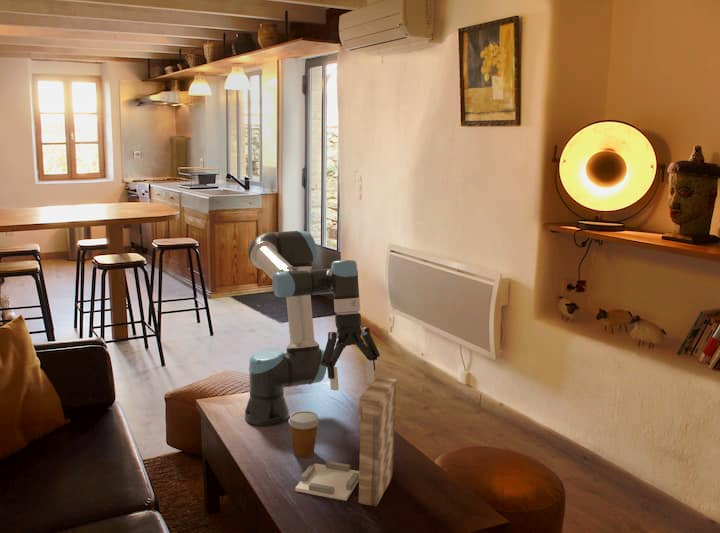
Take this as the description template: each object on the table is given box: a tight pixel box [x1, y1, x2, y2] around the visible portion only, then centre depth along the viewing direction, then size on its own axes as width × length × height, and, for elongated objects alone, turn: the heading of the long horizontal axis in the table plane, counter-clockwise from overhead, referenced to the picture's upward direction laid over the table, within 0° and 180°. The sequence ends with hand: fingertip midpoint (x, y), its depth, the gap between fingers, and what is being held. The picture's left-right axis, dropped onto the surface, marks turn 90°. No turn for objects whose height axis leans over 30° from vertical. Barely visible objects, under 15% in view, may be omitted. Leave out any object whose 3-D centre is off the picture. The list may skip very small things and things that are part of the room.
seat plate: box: [294, 460, 359, 501], centre depth 195 cm, size 15×15×2 cm
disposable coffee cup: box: [287, 410, 320, 458], centre depth 212 cm, size 10×10×12 cm
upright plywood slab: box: [358, 376, 397, 507], centre depth 190 cm, size 17×6×30 cm, turn 162°
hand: (353, 386), depth 199 cm, fingers open, 13 cm apart
